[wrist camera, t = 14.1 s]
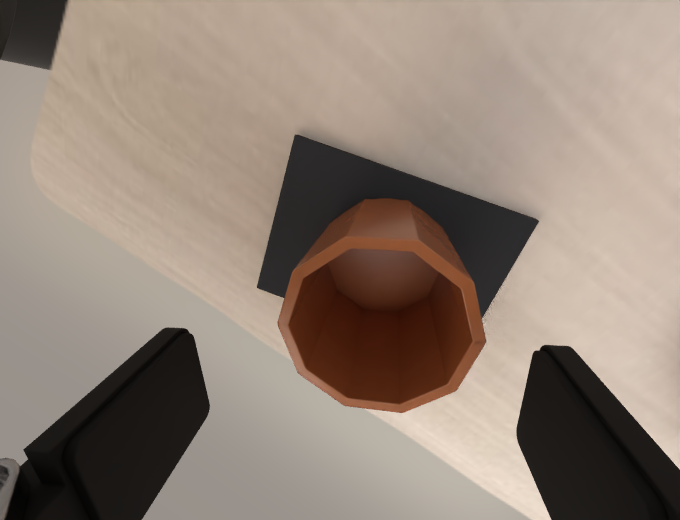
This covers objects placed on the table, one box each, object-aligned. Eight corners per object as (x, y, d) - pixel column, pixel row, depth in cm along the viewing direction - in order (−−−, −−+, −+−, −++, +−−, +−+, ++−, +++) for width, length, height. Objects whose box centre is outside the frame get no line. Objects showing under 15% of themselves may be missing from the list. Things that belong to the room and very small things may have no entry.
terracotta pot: (308, 291, 21) (261, 375, 13) (346, 176, 18) (312, 201, 10) (415, 330, 21) (428, 438, 13) (470, 221, 18) (526, 278, 10)
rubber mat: (259, 285, 22) (256, 288, 21) (297, 134, 18) (294, 134, 18) (455, 357, 21) (456, 362, 21) (535, 218, 18) (539, 220, 17)
